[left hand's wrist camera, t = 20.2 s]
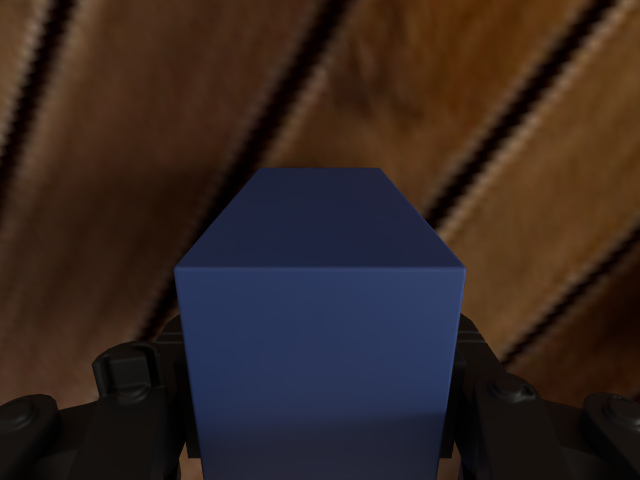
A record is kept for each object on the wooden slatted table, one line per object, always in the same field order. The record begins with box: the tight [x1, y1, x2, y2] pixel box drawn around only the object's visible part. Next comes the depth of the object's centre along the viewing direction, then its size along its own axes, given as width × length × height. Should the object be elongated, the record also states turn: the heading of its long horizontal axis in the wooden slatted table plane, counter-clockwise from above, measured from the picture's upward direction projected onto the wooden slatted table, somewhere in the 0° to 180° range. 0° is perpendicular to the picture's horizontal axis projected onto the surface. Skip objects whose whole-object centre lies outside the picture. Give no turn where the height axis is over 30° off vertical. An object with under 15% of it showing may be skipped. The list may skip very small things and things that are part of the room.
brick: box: [174, 168, 466, 480], centre depth 12 cm, size 5×8×9 cm, turn 0°
